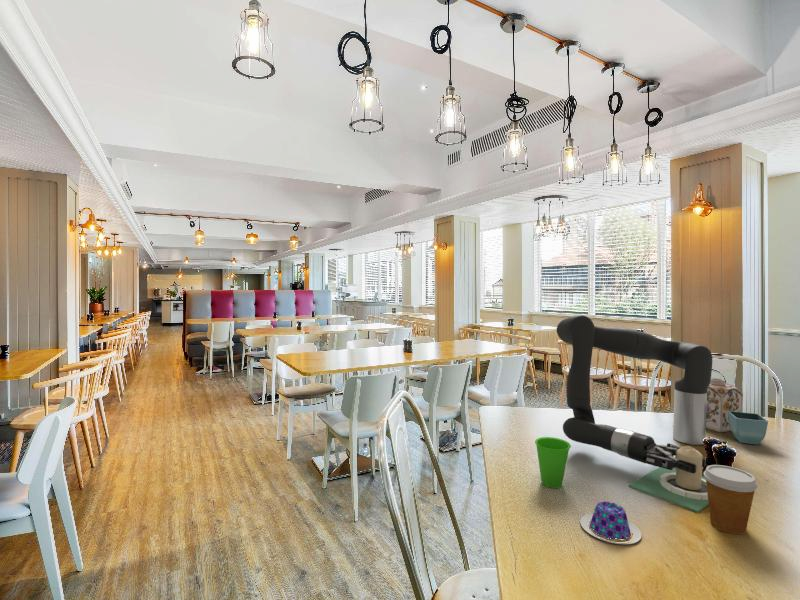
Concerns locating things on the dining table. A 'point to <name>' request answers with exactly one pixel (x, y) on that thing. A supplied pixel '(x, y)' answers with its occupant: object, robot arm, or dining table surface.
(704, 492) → the putting green
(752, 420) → the flower pot
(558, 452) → the cup
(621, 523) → the pudding
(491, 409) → the dining table surface
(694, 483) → the candle
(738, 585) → the dining table surface
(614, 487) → the dining table surface
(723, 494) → the disposable coffee cup
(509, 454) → the dining table surface
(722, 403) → the decorative jar
